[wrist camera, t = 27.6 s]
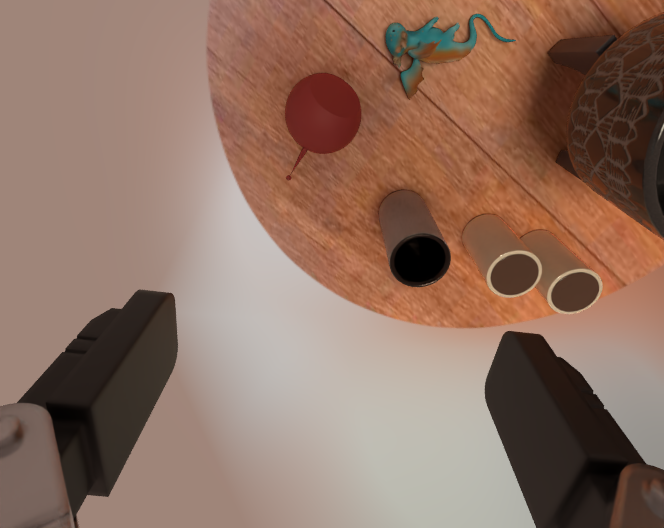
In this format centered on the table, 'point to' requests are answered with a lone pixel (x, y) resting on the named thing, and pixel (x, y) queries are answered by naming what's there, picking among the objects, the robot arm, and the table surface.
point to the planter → (619, 118)
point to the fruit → (322, 114)
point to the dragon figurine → (429, 48)
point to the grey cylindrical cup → (412, 240)
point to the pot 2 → (563, 274)
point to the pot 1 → (501, 256)
